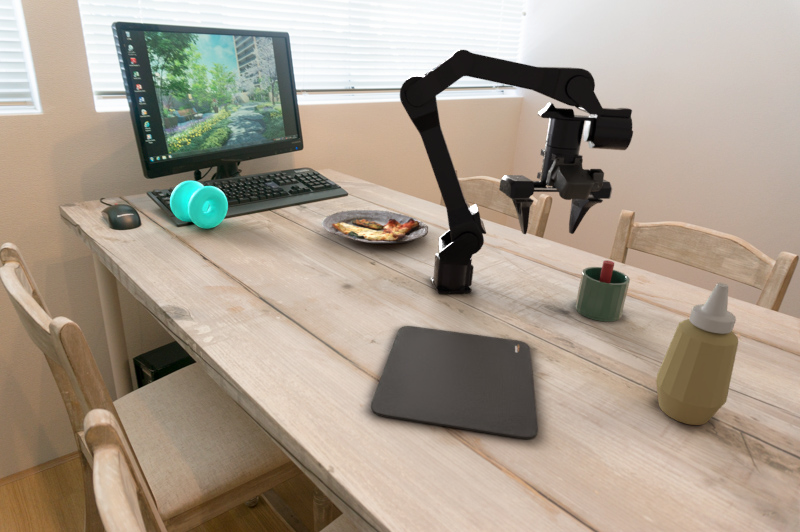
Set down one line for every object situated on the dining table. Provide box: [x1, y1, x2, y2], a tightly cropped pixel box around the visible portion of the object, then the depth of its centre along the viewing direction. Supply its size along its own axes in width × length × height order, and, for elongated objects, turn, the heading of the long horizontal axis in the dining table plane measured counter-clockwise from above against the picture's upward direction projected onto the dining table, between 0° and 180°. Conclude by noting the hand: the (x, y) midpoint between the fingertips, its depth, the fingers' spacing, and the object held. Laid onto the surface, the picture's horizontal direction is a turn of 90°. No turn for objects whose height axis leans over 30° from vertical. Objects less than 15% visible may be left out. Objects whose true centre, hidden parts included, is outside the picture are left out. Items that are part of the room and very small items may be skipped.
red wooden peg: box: [599, 259, 615, 283], centre depth 93 cm, size 2×2×9 cm
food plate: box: [321, 209, 429, 245], centre depth 126 cm, size 25×23×4 cm
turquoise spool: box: [169, 179, 229, 230], centre depth 125 cm, size 10×10×10 cm
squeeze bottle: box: [655, 282, 739, 426], centre depth 65 cm, size 8×8×18 cm
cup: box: [574, 266, 631, 323], centre depth 93 cm, size 8×8×7 cm
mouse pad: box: [370, 325, 539, 440], centre depth 73 cm, size 23×20×1 cm
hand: (547, 233), depth 96 cm, fingers open, 9 cm apart
